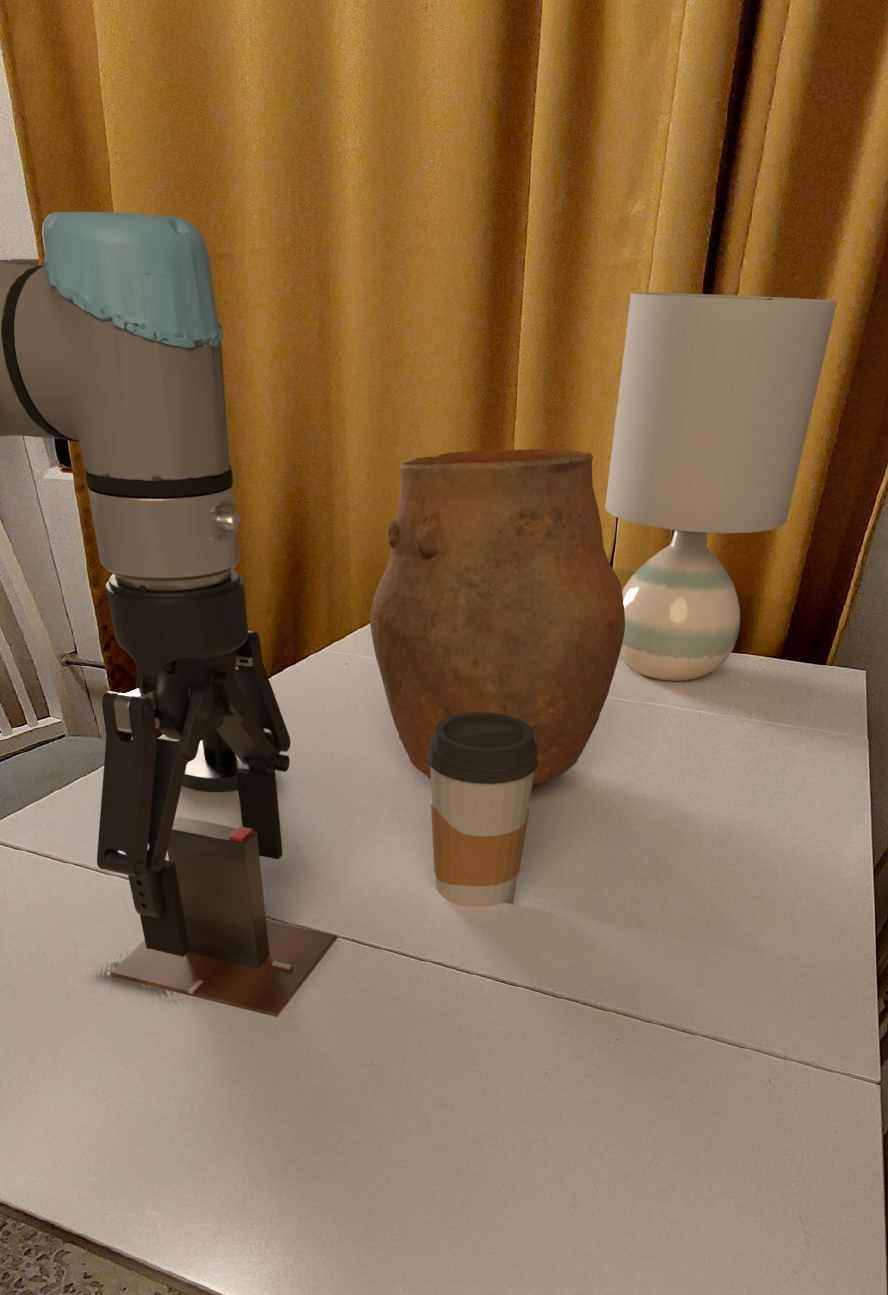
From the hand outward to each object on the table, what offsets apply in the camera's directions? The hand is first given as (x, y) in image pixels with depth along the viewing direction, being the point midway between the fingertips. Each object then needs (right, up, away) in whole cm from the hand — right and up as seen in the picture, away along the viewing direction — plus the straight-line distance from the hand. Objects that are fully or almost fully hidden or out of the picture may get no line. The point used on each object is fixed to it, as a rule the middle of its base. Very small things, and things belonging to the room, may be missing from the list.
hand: (219, 898), depth 65 cm
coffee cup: (+18, +1, +13) cm, 22 cm away
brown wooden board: (0, -5, +4) cm, 7 cm away
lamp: (+45, +36, +61) cm, 84 cm away
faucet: (-7, +16, +32) cm, 36 cm away
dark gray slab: (0, -4, +3) cm, 5 cm away
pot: (+20, +16, +33) cm, 42 cm away
